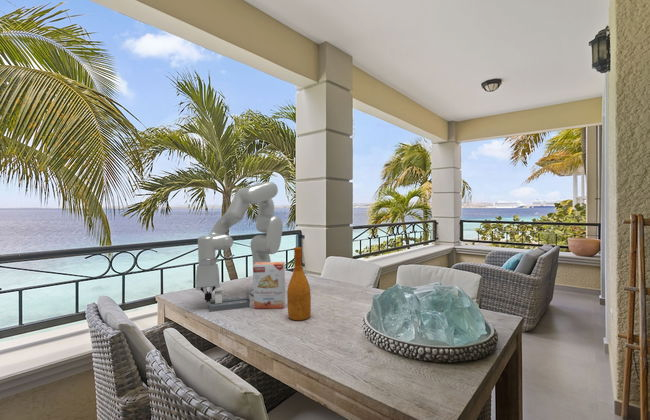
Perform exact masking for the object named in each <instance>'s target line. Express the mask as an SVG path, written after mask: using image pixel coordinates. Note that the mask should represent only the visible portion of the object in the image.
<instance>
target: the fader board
mask: <svg viewBox="0 0 650 420" xmlns="http://www.w3.org/2000/svg"><path fill="white" fill-rule="evenodd" d="M245 308H251V298H250V293H249V292H246V295H245V296H238V297H228V298H222V303H217V304H215V299H210V302H209V309H208V311H209V312H211V313H212V312H219V311H227V310H229V311H230V310H237V309H245Z"/></svg>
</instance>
